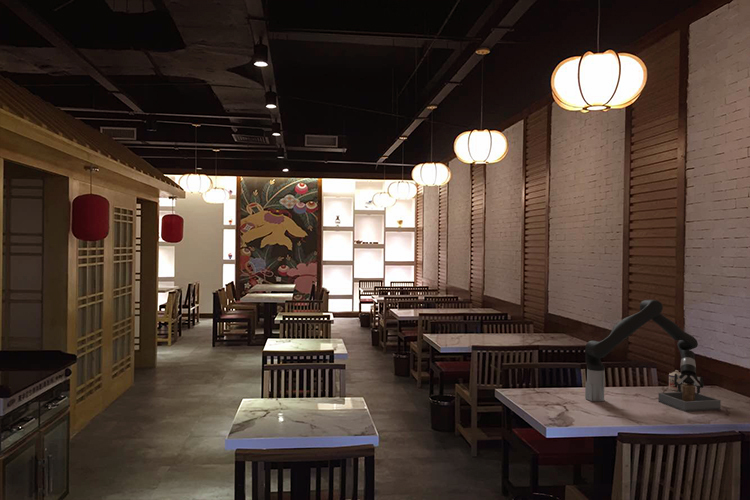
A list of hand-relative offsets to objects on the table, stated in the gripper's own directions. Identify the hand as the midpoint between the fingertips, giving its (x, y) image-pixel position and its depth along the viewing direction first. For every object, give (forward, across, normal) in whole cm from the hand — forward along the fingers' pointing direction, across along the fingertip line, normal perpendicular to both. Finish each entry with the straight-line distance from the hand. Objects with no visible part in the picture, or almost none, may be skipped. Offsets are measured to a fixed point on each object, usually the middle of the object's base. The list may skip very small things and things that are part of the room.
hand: (688, 392), depth 308 cm
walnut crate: (+4, 0, +5) cm, 7 cm away
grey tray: (+5, 0, +6) cm, 8 cm away
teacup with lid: (-22, -4, +33) cm, 40 cm away
